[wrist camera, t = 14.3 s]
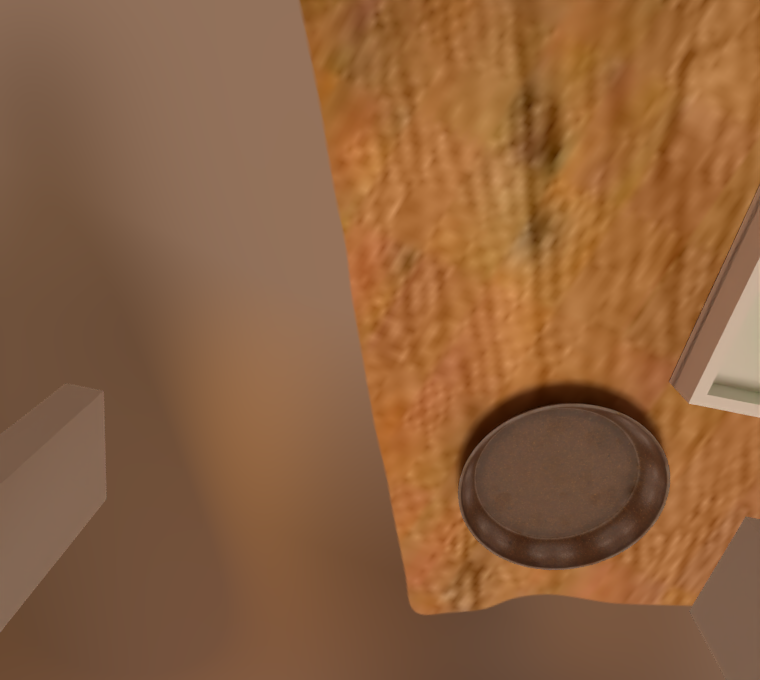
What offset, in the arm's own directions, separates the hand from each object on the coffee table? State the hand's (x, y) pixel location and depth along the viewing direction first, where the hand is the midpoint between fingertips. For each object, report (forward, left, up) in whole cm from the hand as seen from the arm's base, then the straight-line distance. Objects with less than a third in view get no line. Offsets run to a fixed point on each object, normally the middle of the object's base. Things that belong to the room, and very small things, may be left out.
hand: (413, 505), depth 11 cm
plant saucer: (+20, +17, -32) cm, 42 cm away
